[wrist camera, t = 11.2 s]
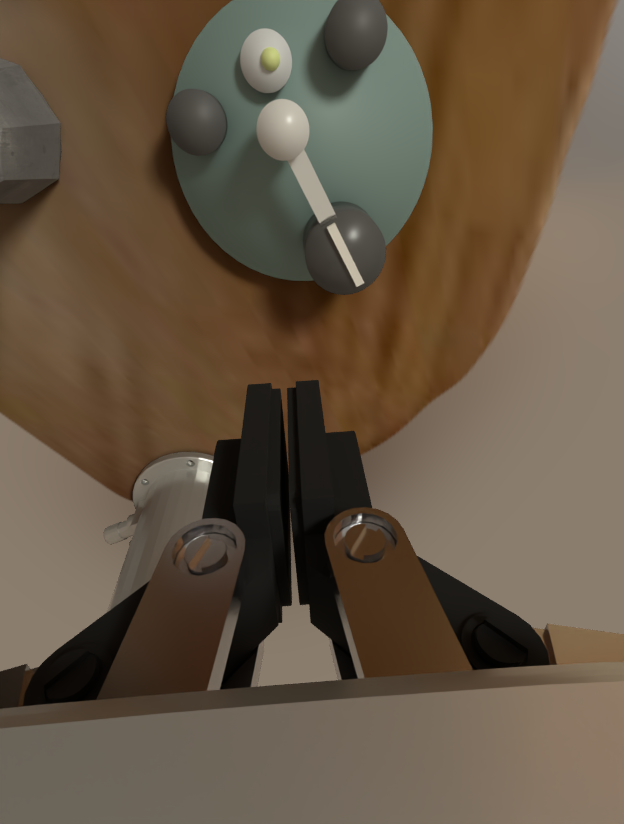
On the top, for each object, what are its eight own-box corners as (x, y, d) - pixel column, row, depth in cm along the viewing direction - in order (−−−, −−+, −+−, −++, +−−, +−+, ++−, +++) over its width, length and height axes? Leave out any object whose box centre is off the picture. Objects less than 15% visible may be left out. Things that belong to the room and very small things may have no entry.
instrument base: (252, 310, 40) (250, 326, 37) (120, 74, 30) (103, 71, 28) (455, 214, 36) (470, 224, 34) (376, -83, 27) (387, -106, 24)
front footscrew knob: (387, 255, 36) (404, 278, 31) (324, 290, 37) (330, 317, 33) (308, 78, 30) (313, 72, 25) (235, 127, 31) (226, 131, 26)
